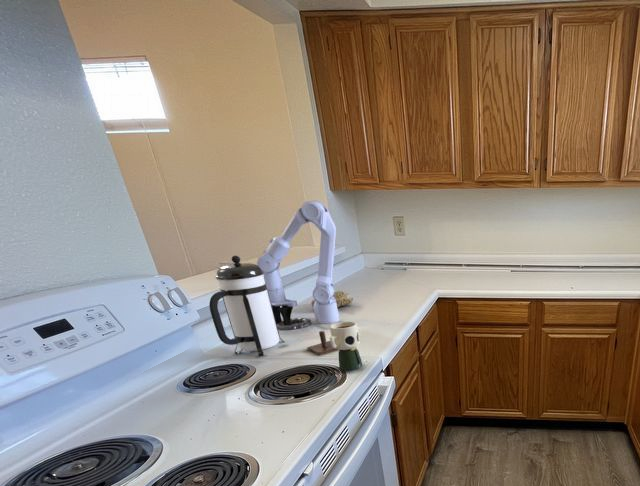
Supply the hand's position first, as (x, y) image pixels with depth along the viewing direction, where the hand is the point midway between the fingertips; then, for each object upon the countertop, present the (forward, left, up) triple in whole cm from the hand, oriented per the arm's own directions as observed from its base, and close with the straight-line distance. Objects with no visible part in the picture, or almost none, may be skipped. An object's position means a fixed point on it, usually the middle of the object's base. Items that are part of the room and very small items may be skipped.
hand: (283, 324), depth 157 cm
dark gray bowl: (+4, +2, 0) cm, 5 cm away
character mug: (+57, -5, -2) cm, 57 cm away
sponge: (-11, +25, -2) cm, 28 cm away
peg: (+35, -2, -1) cm, 35 cm away
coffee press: (+19, -16, -2) cm, 25 cm away
